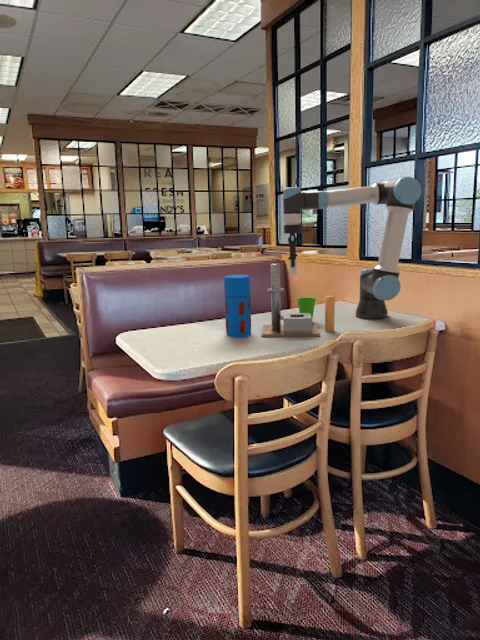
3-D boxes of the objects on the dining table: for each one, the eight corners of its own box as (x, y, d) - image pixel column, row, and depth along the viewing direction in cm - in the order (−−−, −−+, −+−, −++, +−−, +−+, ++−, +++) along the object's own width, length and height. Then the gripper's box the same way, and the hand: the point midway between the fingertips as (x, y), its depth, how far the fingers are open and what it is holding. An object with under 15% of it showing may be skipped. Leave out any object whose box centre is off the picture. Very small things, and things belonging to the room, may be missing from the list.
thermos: (254, 332, 212) (253, 274, 207) (246, 338, 202) (245, 278, 197) (231, 331, 215) (229, 274, 210) (222, 336, 205) (220, 277, 200)
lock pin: (333, 329, 212) (334, 295, 209) (334, 331, 208) (335, 297, 205) (324, 329, 212) (324, 295, 209) (325, 332, 208) (325, 297, 205)
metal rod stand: (316, 326, 218) (316, 261, 212) (319, 336, 201) (319, 265, 195) (263, 327, 220) (261, 262, 214) (261, 337, 203) (260, 267, 197)
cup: (315, 319, 233) (315, 296, 231) (316, 323, 224) (316, 300, 222) (296, 319, 234) (296, 297, 232) (297, 323, 225) (296, 300, 223)
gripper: (284, 223, 224) (285, 269, 229) (282, 225, 200) (284, 276, 204) (300, 223, 223) (301, 269, 228) (301, 224, 199) (302, 276, 203)
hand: (293, 272), depth 216 cm, fingers open, 13 cm apart
